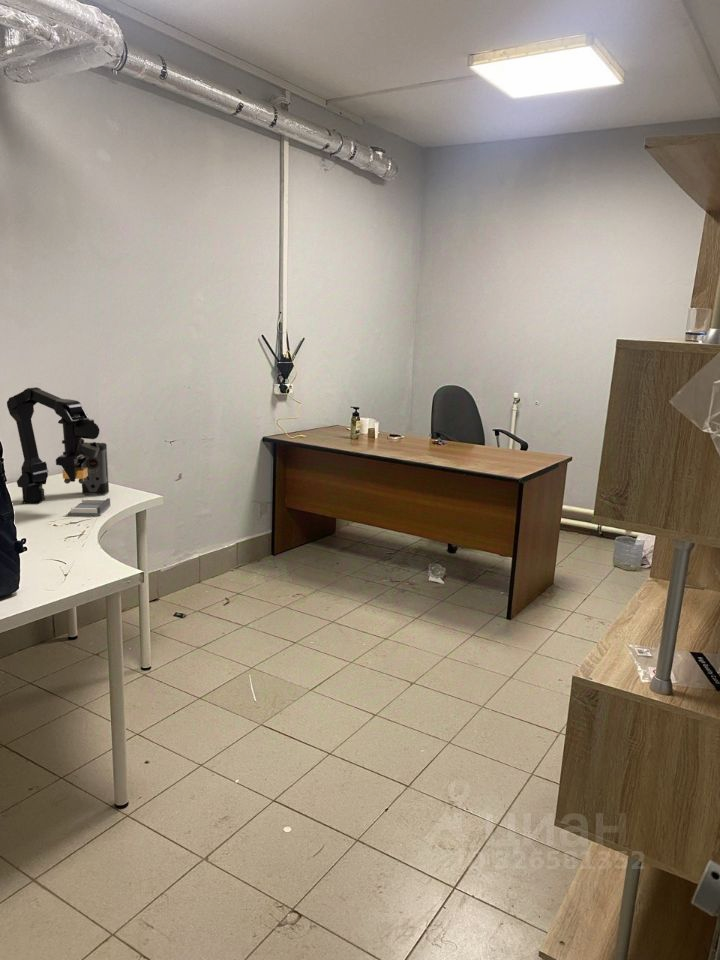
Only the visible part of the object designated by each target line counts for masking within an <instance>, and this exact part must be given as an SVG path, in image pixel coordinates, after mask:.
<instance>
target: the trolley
mask: <svg viewBox="0 0 720 960" xmlns="http://www.w3.org/2000/svg"><path fill="white" fill-rule="evenodd" d="M61 472H62V479H63V480H64V482H63V483H65V484H67V485H68V484H70V483H72V481H71V480H70V478H69V477H68V475H67V473H66V472H65V470H64V469H62V471H61ZM87 476H88V472H87V468H76V477H75V480H78V483H79V484H81V485H82V484H83V483H84V482H86V481H87Z"/></svg>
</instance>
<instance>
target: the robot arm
mask: <svg viewBox="0 0 720 960" xmlns="http://www.w3.org/2000/svg"><path fill="white" fill-rule="evenodd" d="M36 404H40V405H42V406H45V407H47V408H50V409H52V410H53V411H54V413H55V414H56V415H57V416H59V417H60V418H61V419H60V420H59V421H57V424H61V425H62V431H63V440H61V444H63V445H64V451H62V454H61V455H59V456H58V457H57V458H56V459H55V465H56V466H61V468H62V470H65V472H66V473H67V475H68V477H69V478H70V480H71V483H72V482H73V483H75V482H76V479H75V477H76V468H82V466H83V463H84V462H85V461H86V460H87V459H88V458H84V456H83V455H86V456H87V457H90V458H95V457H97V455H98V452H99V451H100V449H99V448H100V447H98V443H99V442H95V441H93V442H91V443H92V444H91V445H90V444H86V442H85V439H87V440H96V439H97V438H98V437H99V435H100V428H99V426H98V424H97V423H95V419H92V418H91V419H90V418H89V416H88V414H87V413H86V411H85V409H84V408H83V406H82V403H81V402H80V401H79V400H75V399H71V398H69V399H67V398H61V397H59V396H56V395H54V394H52V393H49V392H48V391H45V390H43V389H41V388H40V387H37V386H36V387H28V388H25V389H24V390H23V391H21V392H19V393H17V394H15V395H13V396H11V397H9V398H8V400H7V401H6V406H7V409H8V413H9V415H10V416H11V417H12V419H14V421H15V422H16V428H17V431H18V437H19V441H20V446H21V450H22V455H23V463H22V465H21V475H20V476H19V478H17V480H16V485H17V487H18V488H21V492H22V501H21V502H23V503H22V504H36V503H38V504H41V503H42V502H44V501H45V500H46V498H45V497H46V496H45V489H44V488H43V485H46V483H47V479H48V478H49V477H48V476H49V475H48V474H49V469H48V465H47V464H48V463H47V462H46V461H43V460H42V459H41V458H40V456H39V452H38V451H39V450H38V447H37V446H38V445H37V441H36V437H35V433H34V432H35V431H34V428H33V423H32V417H33V415H34V413H35V407H34V406H35V405H36ZM24 502H25V503H24Z"/></svg>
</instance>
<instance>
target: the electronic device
mask: <svg viewBox="0 0 720 960" xmlns="http://www.w3.org/2000/svg"><path fill="white" fill-rule="evenodd" d="M85 443H86V444H90V445H91V444H92V443H93V442H85ZM97 443H98V447H100V448H99V449H100V451H99V452H98V455H97V457H95V458H90V457H87V456H86V455H83V456H84V458H88V459H87V460H86V461H85V462H84V463H83V466H82V468H87V472H88V476H87V481H86V482H84V483H83V484H81V491H82V495H84V496H106V495H107V494H109V492H110V487H109V469H108V468H109V466H108V464H109V463H108V451H107V449H108V448H107V446H108V445H107V443H105V442H97ZM105 494H106V495H105Z"/></svg>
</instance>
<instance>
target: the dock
mask: <svg viewBox="0 0 720 960" xmlns="http://www.w3.org/2000/svg"><path fill="white" fill-rule="evenodd" d="M109 508H111V498H106V499H99V498H98V499H96V498H95V499H88V498H87V499H86V498H84V499H81V502H80V503H78V504H77V505H76V506H74V507H72V508H71V507H70V511H69V512H68V513H67V514H68V515H67V516H71V517H72V516H73V517H74V516H75V517H101V516H102V515H103V514H104V513H105V512H106V511H107V510H108V509H109ZM102 513H103V514H102ZM101 514H102V515H101Z"/></svg>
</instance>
